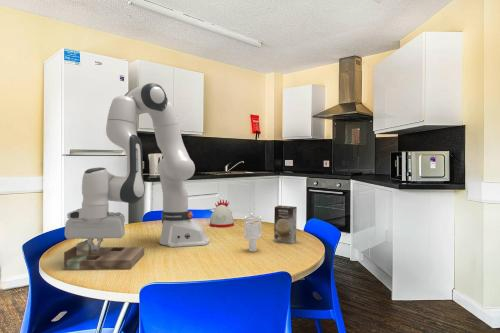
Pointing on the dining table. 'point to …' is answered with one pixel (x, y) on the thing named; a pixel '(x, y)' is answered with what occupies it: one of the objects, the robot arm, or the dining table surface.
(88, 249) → the cube
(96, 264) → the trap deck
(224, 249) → the dining table surface
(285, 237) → the coffee box
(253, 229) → the clear glass tall piece
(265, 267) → the dining table surface
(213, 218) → the kitchen timer
